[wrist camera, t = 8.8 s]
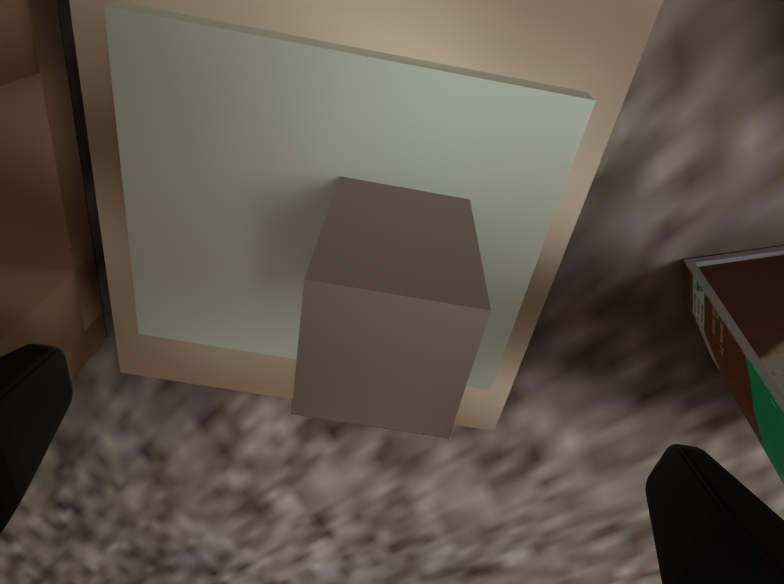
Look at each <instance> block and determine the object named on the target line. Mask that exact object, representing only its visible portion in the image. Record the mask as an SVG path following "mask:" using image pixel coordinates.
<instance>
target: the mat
mask: <svg viewBox="0 0 784 584" xmlns="http://www.w3.org/2000/svg"><path fill="white" fill-rule="evenodd" d="M663 1H664V0H69V4H70V11H71V19H72V26H73V33H74V41H75V48H76V55H77V62H78V70H79V77H80V84H81V91H82V99H83V106H84V113H85V121H86V128H87V135H88V142H89V150H90V157H91V164H92V172H93V179H94V186H95V193H96V201H97V208H98V215H99V222H100V230H101V237H102V244H103V252H104V259H105V266H106V273H107V281H108V288H109V295H110V302H111V310H112V317H113V324H114V332H115V339H116V346H117V353H118V361H119V368H120V372H121V373H127V374H133V375H140V376H146V377H152V378H159V379H165V380H171V381H178V382H184V383H191V384H197V385H203V386H210V387H216V388H222V389H229V390H235V391H242V392H248V393H254V394H261V395H267V396H273V397H280V398H286V399H292V400H293V391H294V380H295V370H296V360H297V359H291V358H285V357H279V356H272V355H266V354H260V353H254V352H248V351H241V350H235V349H229V348H223V347H217V346H210V345H204V344H198V343H192V342H186V341H179V340H173V339H167V338H161V337H155V336H148V335H142V334H139V333H138V323H137V314H136V305H135V295H134V286H133V276H132V267H131V258H130V248H129V239H128V230H127V220H126V211H125V202H124V192H123V183H122V173H121V164H120V155H119V145H118V136H117V127H116V117H115V108H114V98H113V89H112V80H111V70H110V61H109V52H108V42H107V33H106V23H105V14H104V6H105V5H111V4H116V3H121V2H124V3H129V4H134V5H140V6H145V7H150V8H155V9H160V10H165V11H171V12H176V13H181V14H186V15H191V16H197V17H202V18H207V19H212V20H217V21H222V22H228V23H233V24H238V25H243V26H248V27H254V28H259V29H264V30H269V31H274V32H279V33H285V34H290V35H295V36H300V37H305V38H311V39H316V40H321V41H326V42H331V43H336V44H342V45H347V46H352V47H357V48H362V49H368V50H373V51H378V52H383V53H388V54H393V55H399V56H404V57H409V58H414V59H419V60H425V61H430V62H435V63H440V64H445V65H450V66H456V67H461V68H466V69H471V70H476V71H482V72H487V73H492V74H497V75H502V76H507V77H513V78H518V79H523V80H528V81H533V82H539V83H544V84H549V85H554V86H559V87H564V88H570V89H575V90H580V91H585V92H587V93H588V94H589V95H590V96H592V97H593V98H594V99H595V100H596V102H595V105H594V108H593V110H592V113H591V116H590V118H589V121H588V124H587V127H586V129H585V132H584V135H583V138H582V140H581V143H580V146H579V149H578V151H577V154H576V157H575V159H574V162H573V165H572V168H571V170H570V173H569V176H568V179H567V181H566V184H565V187H564V190H563V192H562V195H561V198H560V200H559V203H558V206H557V209H556V211H555V214H554V217H553V220H552V222H551V225H550V228H549V230H548V233H547V236H546V239H545V241H544V244H543V247H542V250H541V252H540V255H539V258H538V261H537V263H536V266H535V269H534V271H533V274H532V277H531V280H530V282H529V285H528V288H527V291H526V293H525V296H524V299H523V302H522V304H521V307H520V310H519V312H518V315H517V318H516V321H515V323H514V326H513V329H512V332H511V334H510V337H509V340H508V343H507V345H506V348H505V351H504V353H503V356H502V359H501V362H500V364H499V367H498V370H497V373H496V375H495V378H494V381H493V384H492V386H491V389H490V391H489V390H483V389H477V388H471V387H466V388H465V391H464V394H463V397H462V400H461V403H460V406H459V409H458V412H457V415H456V418H455V421H454V424H453V425H458V426H464V427H471V428H477V429H484V430H490V431H494V430H495V428H496V425H497V423H498V420H499V418H500V415H501V413H502V410H503V408H504V405H505V402H506V400H507V397H508V395H509V392H510V390H511V387H512V385H513V382H514V380H515V377H516V374H517V372H518V369H519V367H520V364H521V362H522V359H523V357H524V354H525V352H526V349H527V346H528V344H529V341H530V339H531V336H532V334H533V331H534V329H535V326H536V324H537V321H538V319H539V316H540V313H541V311H542V308H543V306H544V303H545V301H546V298H547V296H548V293H549V291H550V288H551V285H552V283H553V280H554V278H555V275H556V273H557V270H558V268H559V265H560V263H561V260H562V257H563V255H564V252H565V250H566V247H567V245H568V242H569V240H570V237H571V235H572V232H573V229H574V227H575V224H576V222H577V219H578V217H579V214H580V212H581V209H582V207H583V204H584V202H585V199H586V196H587V194H588V191H589V189H590V186H591V184H592V181H593V179H594V176H595V174H596V171H597V168H598V166H599V163H600V161H601V158H602V156H603V153H604V151H605V148H606V146H607V143H608V140H609V138H610V135H611V133H612V130H613V128H614V125H615V123H616V120H617V118H618V115H619V112H620V110H621V107H622V105H623V102H624V100H625V97H626V95H627V92H628V90H629V87H630V84H631V82H632V79H633V77H634V74H635V72H636V69H637V67H638V64H639V62H640V59H641V57H642V54H643V51H644V49H645V46H646V44H647V41H648V39H649V36H650V34H651V31H652V29H653V26H654V23H655V21H656V18H657V16H658V13H659V11H660V8H661V6H662V3H663Z"/></svg>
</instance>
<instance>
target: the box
mask: <svg viewBox="0 0 784 584" xmlns="http://www.w3.org/2000/svg"><path fill="white" fill-rule="evenodd" d="M105 338H106V330H105V324H104V317H103V310H102V303H101V297H100V290H99V283H98V277H97V270H96V263H95V256H94V250H93V243H92V236H91V229H90V223H89V216H88V209H87V203H86V196H85V189H84V182H83V176H82V169H81V162H80V155H79V149H78V142H77V135H76V129H75V122H74V115H73V108H72V102H71V95H70V88H69V81H68V75H67V68H66V61H65V55H64V48H63V41H62V34H61V28H60V21H59V14H58V7H57V1H56V0H0V356H2V355H5V354H7V353H9V352H11V351H13V350H16V349H18V348H20V347H22V346H25V345H27V344H31V343H37V344H43V345H50V346H56V347H59V348H61V349H62V350H63V351H64V352H65V355H66V359H67V364H68V369H69V374H70V378H71V381H72V379H73V378H74V377H75V376H76V374H77V373H78V372H79V371H80V369H81V368H82V367H83V366H84V364H85V363H86V362H87V361H88V359H89V358H90V357H91V356H92V354H93V353H94V352H95V351H96V349H97V348H98V347H99V346H100V345H101V343H102V342H103V341H104V340H105Z"/></svg>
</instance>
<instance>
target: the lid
mask: <svg viewBox="0 0 784 584" xmlns="http://www.w3.org/2000/svg"><path fill="white" fill-rule="evenodd" d="M104 14H105V23H106V33H107V42H108V52H109V61H110V70H111V80H112V89H113V98H114V108H115V117H116V127H117V136H118V145H119V155H120V164H121V173H122V183H123V192H124V202H125V211H126V220H127V230H128V239H129V248H130V258H131V267H132V276H133V286H134V295H135V305H136V314H137V323H138V333H139V334H142V335H148V336H155V337H161V338H167V339H173V340H179V341H186V342H192V343H198V344H204V345H210V346H217V347H223V348H229V349H235V350H241V351H248V352H254V353H260V354H266V355H272V356H279V357H285V358H291V359H297V360H296V370H295V380H294V391H293V401H292V411H291V414H294V415H300V416H307V417H313V418H320V419H326V420H332V421H339V422H345V423H352V424H358V425H365V426H371V427H377V428H384V429H390V430H397V431H403V432H409V433H416V434H422V435H429V436H435V437H442V438H448V439H449V436H450V433H451V430H452V427H453V424H454V421H455V418H456V415H457V412H458V409H459V406H460V403H461V400H462V397H463V394H464V391H465V388H466V387H471V388H477V389H483V390H489V391H490V389H491V386H492V384H493V381H494V378H495V375H496V373H497V370H498V367H499V364H500V362H501V359H502V356H503V353H504V351H505V348H506V345H507V343H508V340H509V337H510V334H511V332H512V329H513V326H514V323H515V321H516V318H517V315H518V312H519V310H520V307H521V304H522V302H523V299H524V296H525V293H526V291H527V288H528V285H529V282H530V280H531V277H532V274H533V271H534V269H535V266H536V263H537V261H538V258H539V255H540V252H541V250H542V247H543V244H544V241H545V239H546V236H547V233H548V230H549V228H550V225H551V222H552V220H553V217H554V214H555V211H556V209H557V206H558V203H559V200H560V198H561V195H562V192H563V190H564V187H565V184H566V181H567V179H568V176H569V173H570V170H571V168H572V165H573V162H574V159H575V157H576V154H577V151H578V149H579V146H580V143H581V140H582V138H583V135H584V132H585V129H586V127H587V124H588V121H589V118H590V116H591V113H592V110H593V108H594V105H595V102H596V100H595V99H594V98H593V97H592V96H590V95H589V94H588V93H587V92H585V91H580V90H575V89H570V88H564V87H559V86H554V85H549V84H544V83H539V82H533V81H528V80H523V79H518V78H513V77H507V76H502V75H497V74H492V73H487V72H482V71H476V70H471V69H466V68H461V67H456V66H450V65H445V64H440V63H435V62H430V61H425V60H419V59H414V58H409V57H404V56H399V55H393V54H388V53H383V52H378V51H373V50H368V49H362V48H357V47H352V46H347V45H342V44H336V43H331V42H326V41H321V40H316V39H311V38H305V37H300V36H295V35H290V34H285V33H279V32H274V31H269V30H264V29H259V28H254V27H248V26H243V25H238V24H233V23H228V22H222V21H217V20H212V19H207V18H202V17H197V16H191V15H186V14H181V13H176V12H171V11H165V10H160V9H155V8H150V7H145V6H140V5H134V4H129V3H124V2H121V3H116V4H111V5H105V6H104Z"/></svg>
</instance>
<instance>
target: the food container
mask: <svg viewBox="0 0 784 584" xmlns="http://www.w3.org/2000/svg"><path fill="white" fill-rule="evenodd" d="M683 290H684V298H685V301H686V303H687V306H688V308H689V311H690V313H691V315H692V318H693V320H694V323H695V325H696V328H697V330H698V333H699V335H700V337H701V339H702V341H703V342H704V344H705V346H706V348H707V349H708V351H709V353H710V355H711V357H712V358H713V360H714V362H715V364H716V365H717V367H718V369H719V371H720V372H721V374H722V376H723V378H724V379H725V381H726V383H727V385H728V387H729V388H730V390H731V392H732V394H733V395H734V397H735V399H736V401H737V402H738V404H739V406H740V408H741V410H742V411H743V413H744V415H745V417H746V418H747V420H748V422H749V424H750V425H751V427H752V429H753V431H754V433H755V434H756V436H757V438H758V440H759V441H760V443H761V445H762V447H763V448H764V450H765V452H766V454H767V455H768V457H769V459H770V461H771V463H772V464H773V466H774V468H775V470H776V471H777V473H778V475H779V477H780V478H781V480H782V482H783V484H784V246H778V247H771V248H764V249H757V250H749V251H742V252H735V253H728V254H721V255H714V256H707V257H699V258H692V259H685V260H683Z"/></svg>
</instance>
